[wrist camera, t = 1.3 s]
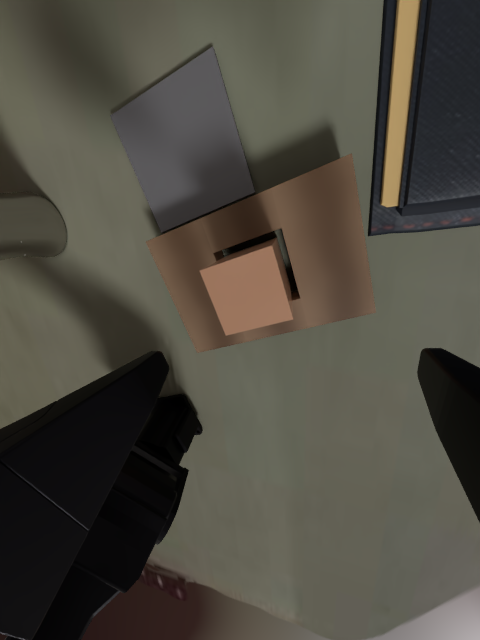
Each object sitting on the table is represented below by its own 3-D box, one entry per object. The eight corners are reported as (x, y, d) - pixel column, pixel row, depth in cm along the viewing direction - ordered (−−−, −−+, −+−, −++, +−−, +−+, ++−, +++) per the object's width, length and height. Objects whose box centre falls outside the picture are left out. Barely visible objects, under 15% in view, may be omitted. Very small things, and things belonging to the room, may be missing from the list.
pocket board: (205, 340, 24) (197, 352, 22) (161, 239, 21) (145, 241, 18) (365, 301, 20) (375, 312, 17) (342, 163, 16) (351, 153, 14)
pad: (163, 232, 21) (161, 232, 20) (113, 117, 18) (110, 115, 17) (255, 192, 18) (254, 192, 18) (214, 50, 15) (212, 46, 15)
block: (245, 298, 22) (225, 335, 14) (230, 254, 20) (199, 270, 13) (290, 285, 20) (293, 319, 13) (277, 237, 19) (271, 245, 12)
